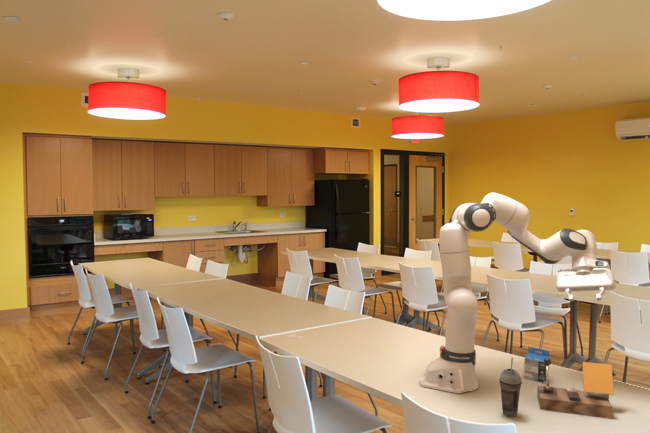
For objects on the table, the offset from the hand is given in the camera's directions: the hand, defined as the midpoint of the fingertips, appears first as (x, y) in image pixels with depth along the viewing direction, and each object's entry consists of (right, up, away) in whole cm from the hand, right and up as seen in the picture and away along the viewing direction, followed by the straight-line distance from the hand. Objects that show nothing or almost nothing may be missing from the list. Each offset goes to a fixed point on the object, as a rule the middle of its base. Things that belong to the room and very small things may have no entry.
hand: (585, 300), depth 184 cm
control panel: (-10, -36, -11) cm, 39 cm away
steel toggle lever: (-18, -30, -9) cm, 36 cm away
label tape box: (-12, -35, +15) cm, 40 cm away
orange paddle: (-3, -30, -14) cm, 34 cm away
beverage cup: (-35, -36, -17) cm, 53 cm away
